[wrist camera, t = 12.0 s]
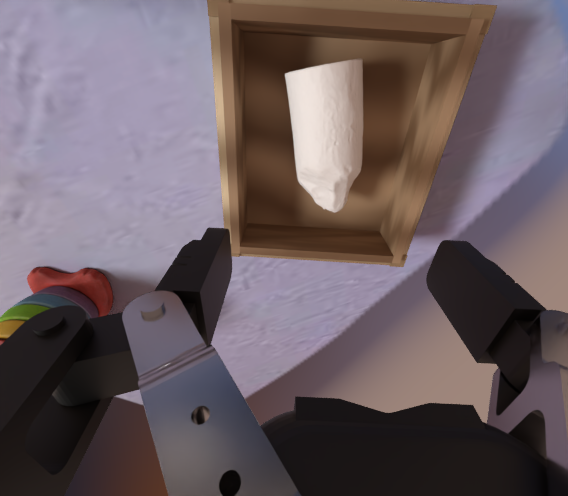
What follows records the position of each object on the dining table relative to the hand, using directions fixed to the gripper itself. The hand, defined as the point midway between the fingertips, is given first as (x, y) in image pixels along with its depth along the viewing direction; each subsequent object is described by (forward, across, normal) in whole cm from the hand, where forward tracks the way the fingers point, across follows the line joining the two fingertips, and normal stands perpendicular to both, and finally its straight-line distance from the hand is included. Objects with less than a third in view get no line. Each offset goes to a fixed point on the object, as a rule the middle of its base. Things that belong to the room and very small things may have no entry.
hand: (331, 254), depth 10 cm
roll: (+19, -2, -1) cm, 19 cm away
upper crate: (+20, -2, 0) cm, 20 cm away
